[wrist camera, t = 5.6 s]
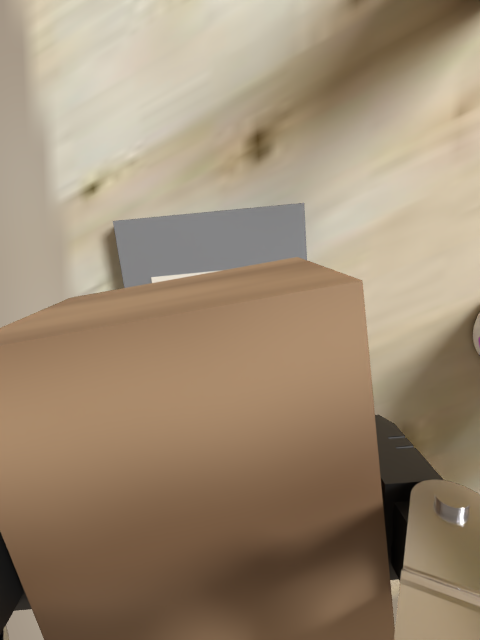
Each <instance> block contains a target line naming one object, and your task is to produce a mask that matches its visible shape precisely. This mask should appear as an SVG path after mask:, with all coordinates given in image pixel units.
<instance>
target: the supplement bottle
mask: <svg viewBox="0 0 480 640" xmlns="http://www.w3.org/2000/svg"><path fill="white" fill-rule="evenodd" d="M473 341H474V346H475V348H476V351H477V352H478V354H479V355H480V313H479V314H478V316H477V319H476V321H475V324H474V329H473Z"/></svg>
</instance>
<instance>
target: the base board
mask: <svg viewBox="0 0 480 640" xmlns="http://www.w3.org/2000/svg"><path fill="white" fill-rule="evenodd" d="M113 224H114V230H115V236H116V242H117V248H118V254H119V259H120V265H121V271H122V277H123V283H124V288H128V287H133V286H139V285H144V284H150V283H156V282H161V281H167V280H172V279H178V278H183V277H189V276H194V275H200V274H206V273H211V272H217V271H222V270H228V269H233V268H239V267H245V266H250V265H256V264H261V263H267V262H272V261H278V260H283V259H289V258H295V257H299V258H301V259H304V260H307V252H306V231H305V210H304V203H299V204H288V205H278V206H267V207H256V208H246V209H235V210H225V211H214V212H204V213H193V214H183V215H172V216H161V217H151V218H140V219H130V220H119V221H113Z"/></svg>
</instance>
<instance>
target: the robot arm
mask: <svg viewBox="0 0 480 640" xmlns="http://www.w3.org/2000/svg"><path fill="white" fill-rule="evenodd" d="M375 423H376V434H377V444H378V455H379V466H380V477H381V487H382V498H383V509H384V520H385V531H386V541H387V552H388V563H389V574H390V580H395V579H399V580H400V587H399V597H398V606H397V615H396V624H395V634H394V640H480V495H479V494H478V493H476V492H475V491H473V490H471V489H469V488H467V487H465V486H463V485H460V484H457V483H454V482H450V481H445V480H443V479H442V478H441V477H440V475H439V474H438V473H437V472H436V471H435V470H434V469H433V467H432V466H431V465H430V464H429V463H428V462H427V461H426V459H425V458H424V457H423V456H422V455H421V454H420V453H419V451H418V450H417V449H416V448H414V447H413V444H412V443H411V442H410V441H409V440H408V439H407V438H405V435H404V434H403V433H402V432H401V431H400V430H399V428H398V427H397V426H396V425H395V424H394V423H392V422H390V421H388V420H387V419H385V418H383V417H382V416H380V415H375ZM26 609H32V608H31V606H30V603H29V601H28V598H27V596H26V593H25V591H24V588H23V586H22V583H21V581H20V579H19V576H18V574H17V571H16V569H15V566H14V564H13V561H12V559H11V556H10V554H9V551H8V549H7V547H6V544H5V542H4V539H3V537H2V534H1V532H0V640H9V635H8V630H7V627H6V624H7V622H8V620H9V618H10V616H11V615H12V613H13V611H15V610H26Z"/></svg>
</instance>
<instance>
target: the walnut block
mask: <svg viewBox="0 0 480 640" xmlns="http://www.w3.org/2000/svg"><path fill="white" fill-rule="evenodd" d="M0 532H1V534H2V537H3V539H4V542H5V544H6V547H7V549H8V551H9V554H10V556H11V559H12V561H13V564H14V566H15V569H16V571H17V574H18V576H19V579H20V581H21V583H22V586H23V588H24V591H25V593H26V596H27V598H28V601H29V603H30V606H31V608H32V610H33V613H34V615H35V618H36V620H37V623H38V625H39V628H40V630H41V633H42V635H43V638H44V640H394V634H395V627H394V617H393V607H392V595H391V584H390V574H389V563H388V552H387V541H386V531H385V520H384V509H383V498H382V487H381V477H380V466H379V455H378V444H377V434H376V423H375V412H374V401H373V391H372V380H371V369H370V358H369V347H368V337H367V326H366V315H365V304H364V294H363V283H362V280H359V279H357V278H354V277H351V276H348V275H346V274H343V273H340V272H337V271H335V270H332V269H329V268H326V267H323V266H321V265H318V264H315V263H312V262H310V261H307V260H304V259H301V258H299V257H295V258H289V259H283V260H278V261H272V262H267V263H261V264H256V265H250V266H245V267H239V268H233V269H228V270H222V271H217V272H211V273H206V274H200V275H194V276H189V277H183V278H178V279H172V280H167V281H161V282H156V283H150V284H144V285H139V286H133V287H128V288H122V289H117V290H111V291H106V292H100V293H94V294H89V295H83V296H78V297H72V298H69V299H66V300H64V301H62V302H60V303H57V304H55V305H53V306H50V307H48V308H46V309H43V310H41V311H38V312H36V313H34V314H32V315H29V316H27V317H25V318H22V319H20V320H18V321H15V322H13V323H11V324H8V325H6V326H4V327H2V328H0Z"/></svg>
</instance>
